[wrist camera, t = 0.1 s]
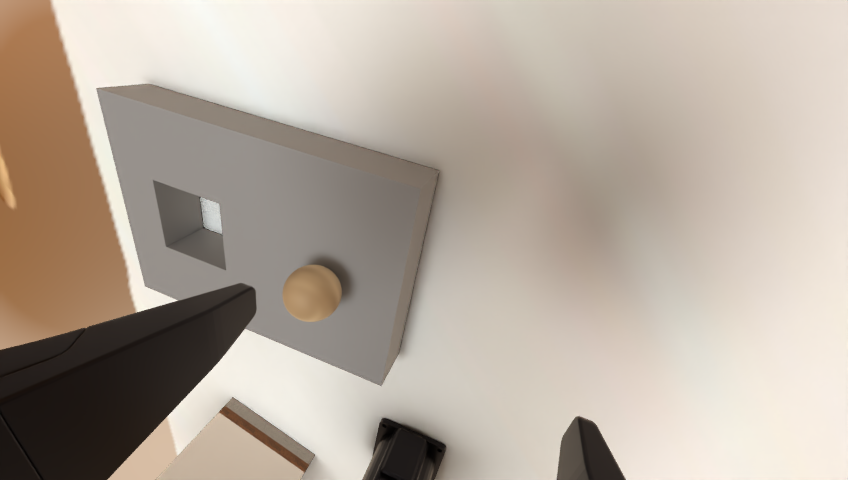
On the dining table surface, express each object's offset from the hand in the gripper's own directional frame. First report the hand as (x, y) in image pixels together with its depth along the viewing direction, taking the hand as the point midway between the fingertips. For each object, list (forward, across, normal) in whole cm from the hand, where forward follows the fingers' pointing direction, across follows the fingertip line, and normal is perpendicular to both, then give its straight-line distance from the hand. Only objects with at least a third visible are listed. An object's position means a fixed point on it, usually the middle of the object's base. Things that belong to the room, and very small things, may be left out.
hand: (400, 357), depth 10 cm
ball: (+9, +8, +8) cm, 15 cm away
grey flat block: (+14, +14, +8) cm, 22 cm away
